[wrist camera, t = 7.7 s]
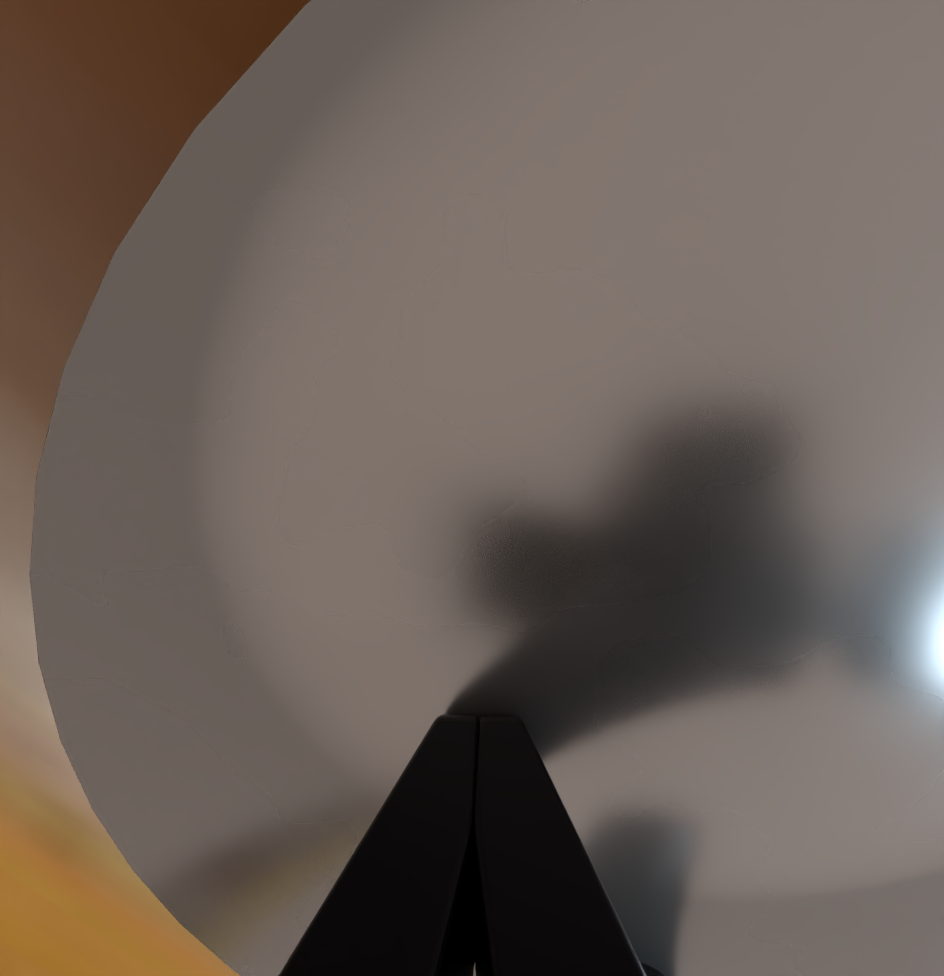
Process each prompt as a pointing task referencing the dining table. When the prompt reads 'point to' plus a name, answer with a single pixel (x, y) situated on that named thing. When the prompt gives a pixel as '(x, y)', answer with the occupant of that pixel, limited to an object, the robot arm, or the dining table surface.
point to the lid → (528, 468)
